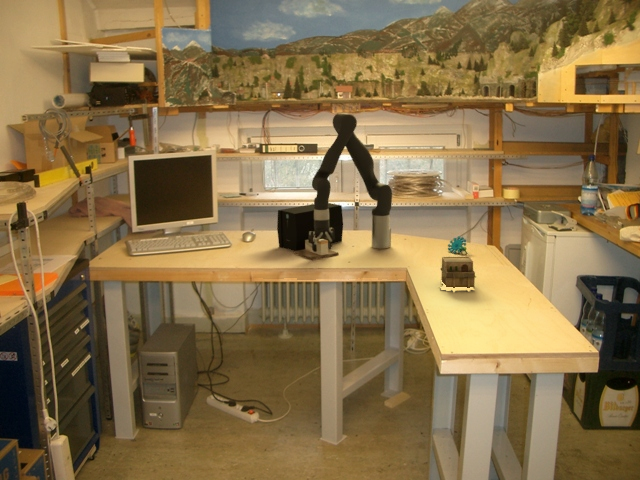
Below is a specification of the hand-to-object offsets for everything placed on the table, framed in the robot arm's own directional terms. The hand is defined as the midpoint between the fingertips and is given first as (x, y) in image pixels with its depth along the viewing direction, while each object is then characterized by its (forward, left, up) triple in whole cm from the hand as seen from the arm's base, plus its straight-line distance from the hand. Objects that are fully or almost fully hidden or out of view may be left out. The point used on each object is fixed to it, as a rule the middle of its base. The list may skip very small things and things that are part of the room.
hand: (321, 250), depth 301 cm
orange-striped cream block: (0, 0, -2) cm, 2 cm away
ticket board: (0, -5, -3) cm, 6 cm away
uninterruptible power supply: (-10, -24, -4) cm, 27 cm away
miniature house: (-17, +73, -4) cm, 75 cm away
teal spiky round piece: (-58, +35, -4) cm, 68 cm away
